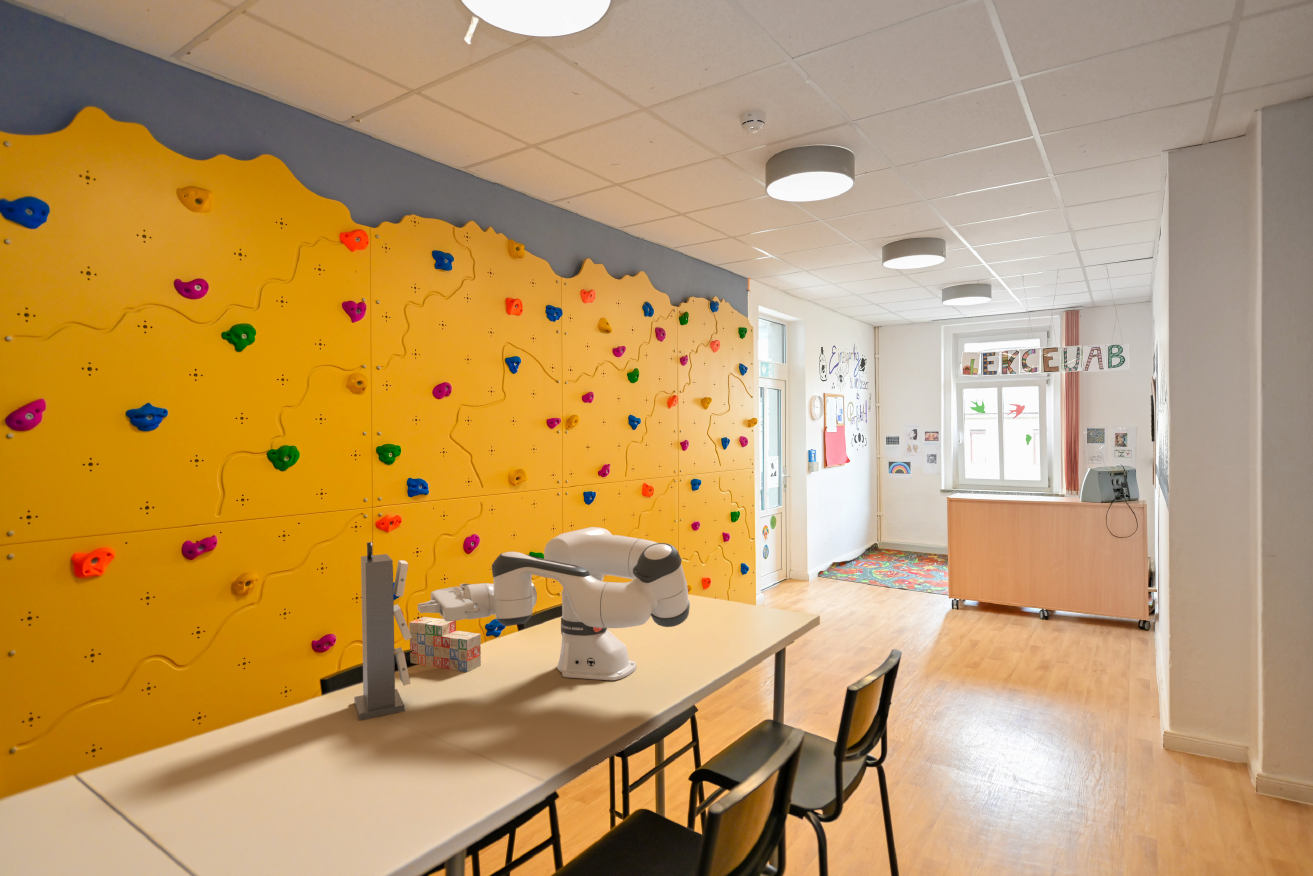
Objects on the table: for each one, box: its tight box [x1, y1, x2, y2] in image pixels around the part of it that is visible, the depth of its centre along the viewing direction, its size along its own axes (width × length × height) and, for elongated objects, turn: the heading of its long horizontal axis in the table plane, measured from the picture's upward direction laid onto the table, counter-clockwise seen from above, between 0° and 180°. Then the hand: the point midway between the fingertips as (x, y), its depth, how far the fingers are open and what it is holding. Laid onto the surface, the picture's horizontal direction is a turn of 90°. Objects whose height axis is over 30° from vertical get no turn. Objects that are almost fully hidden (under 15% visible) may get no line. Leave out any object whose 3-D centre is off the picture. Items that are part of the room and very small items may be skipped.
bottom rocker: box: [394, 646, 411, 687], centre depth 166 cm, size 2×5×8 cm, turn 29°
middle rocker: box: [394, 603, 412, 641], centre depth 166 cm, size 2×5×8 cm, turn 30°
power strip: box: [353, 541, 406, 721], centre depth 164 cm, size 10×12×40 cm
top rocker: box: [393, 559, 409, 597], centre depth 166 cm, size 2×5×8 cm, turn 30°
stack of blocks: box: [408, 616, 482, 673], centre depth 194 cm, size 21×6×12 cm, turn 65°
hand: (418, 608), depth 169 cm, fingers closed
